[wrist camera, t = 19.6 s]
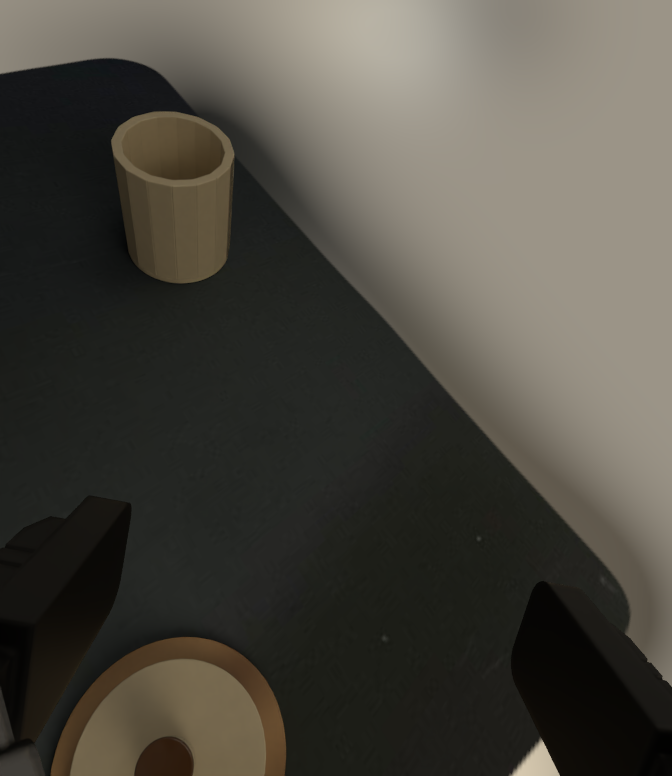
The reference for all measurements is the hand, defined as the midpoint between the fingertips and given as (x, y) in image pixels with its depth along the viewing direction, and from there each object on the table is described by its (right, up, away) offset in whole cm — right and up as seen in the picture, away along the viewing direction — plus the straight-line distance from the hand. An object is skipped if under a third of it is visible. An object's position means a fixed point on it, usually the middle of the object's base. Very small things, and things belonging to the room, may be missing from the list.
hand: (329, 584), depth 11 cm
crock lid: (-7, -12, +13) cm, 19 cm away
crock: (-12, +14, +30) cm, 35 cm away
